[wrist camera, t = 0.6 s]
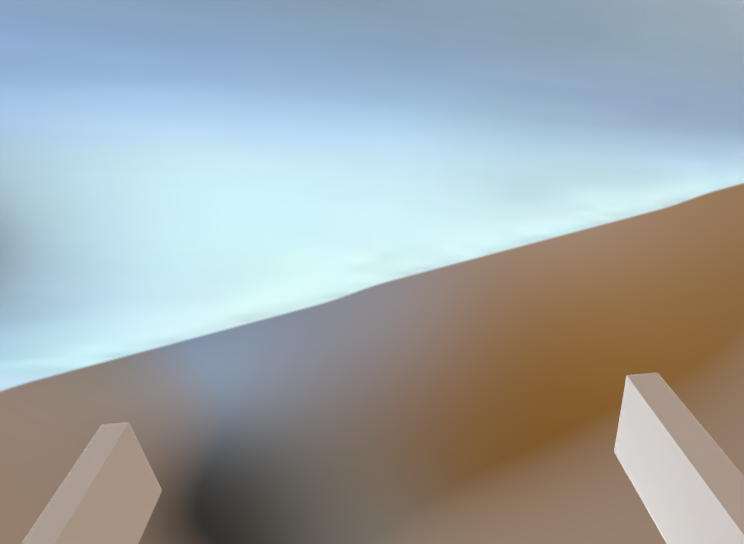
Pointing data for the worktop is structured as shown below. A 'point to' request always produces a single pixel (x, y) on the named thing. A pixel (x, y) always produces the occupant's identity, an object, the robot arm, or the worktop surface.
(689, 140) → the worktop surface
